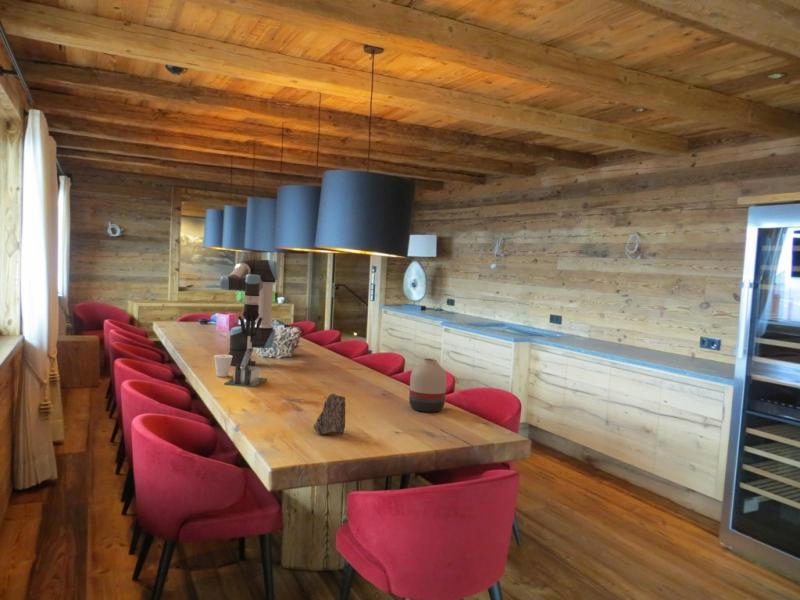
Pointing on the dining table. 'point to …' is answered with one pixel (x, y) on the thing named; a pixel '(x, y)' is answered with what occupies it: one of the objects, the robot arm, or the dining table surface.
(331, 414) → the stone
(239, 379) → the green circuit board
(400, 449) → the dining table surface
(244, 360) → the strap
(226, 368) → the cup
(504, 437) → the dining table surface
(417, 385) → the vase
